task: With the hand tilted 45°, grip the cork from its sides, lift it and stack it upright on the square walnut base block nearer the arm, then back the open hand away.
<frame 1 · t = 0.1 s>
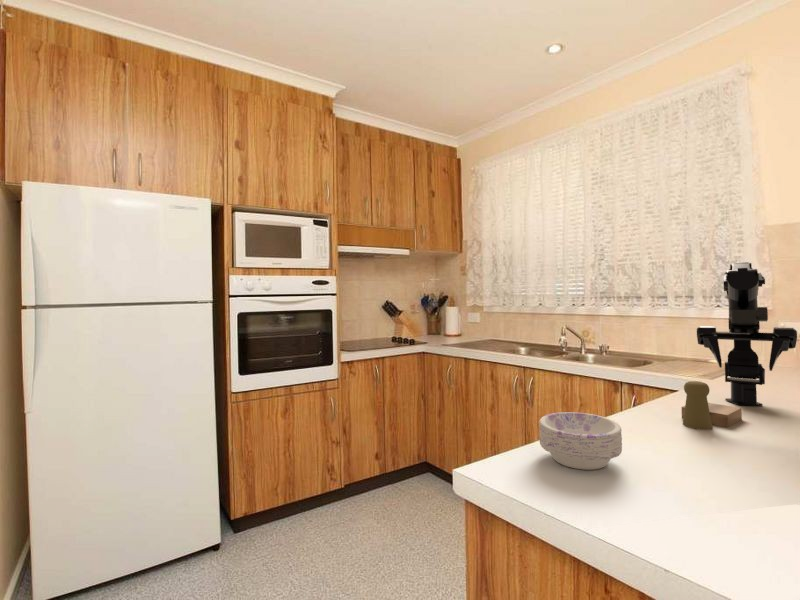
hand: (744, 368, 99), 15 cm above the worktop, tool tilted 35°, fingers open, 9 cm apart
base block: (711, 418, 109), on the worktop
paper bowls: (579, 462, 84), on the worktop
cork: (697, 426, 104), on the worktop
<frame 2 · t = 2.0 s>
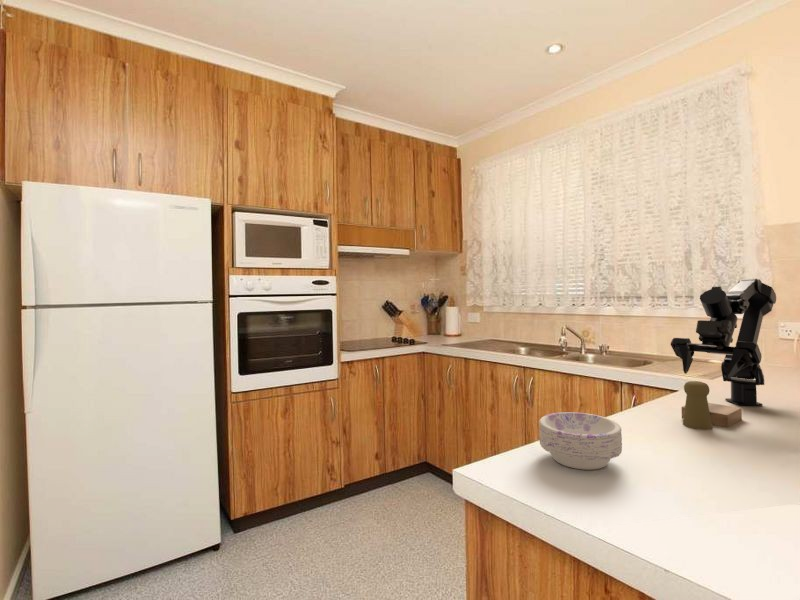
hand: (705, 375, 107), 12 cm above the worktop, tool tilted 45°, fingers open, 9 cm apart
nothing on the worktop moved.
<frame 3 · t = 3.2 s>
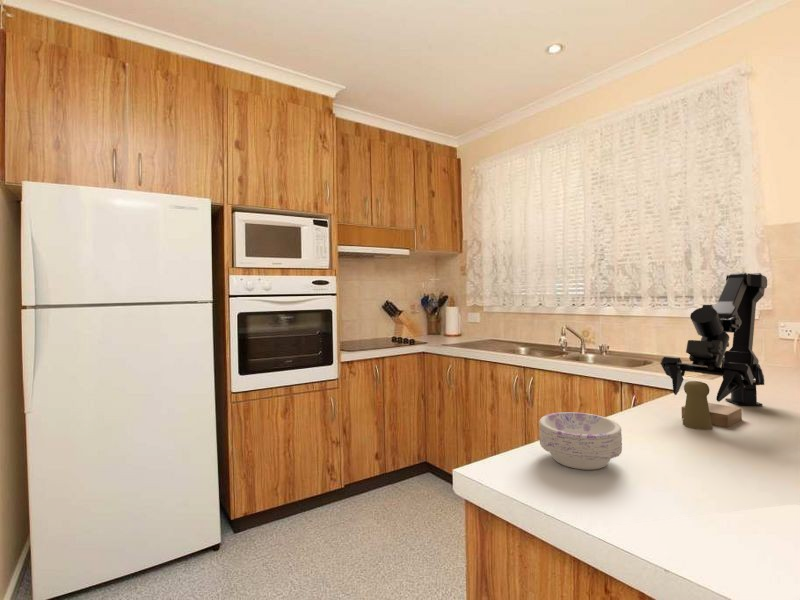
hand: (695, 397, 103), 7 cm above the worktop, tool tilted 45°, fingers open, 9 cm apart
nothing on the worktop moved.
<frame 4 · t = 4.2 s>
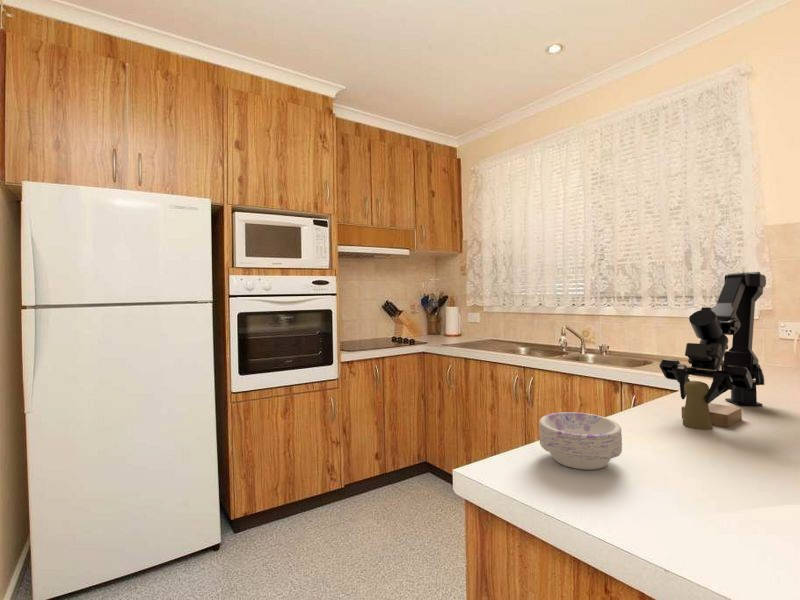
hand: (694, 400, 103), 7 cm above the worktop, tool tilted 45°, fingers closed on cork, 5 cm apart
cork: (697, 426, 104), on the worktop, touching gripper
everything else where it was.
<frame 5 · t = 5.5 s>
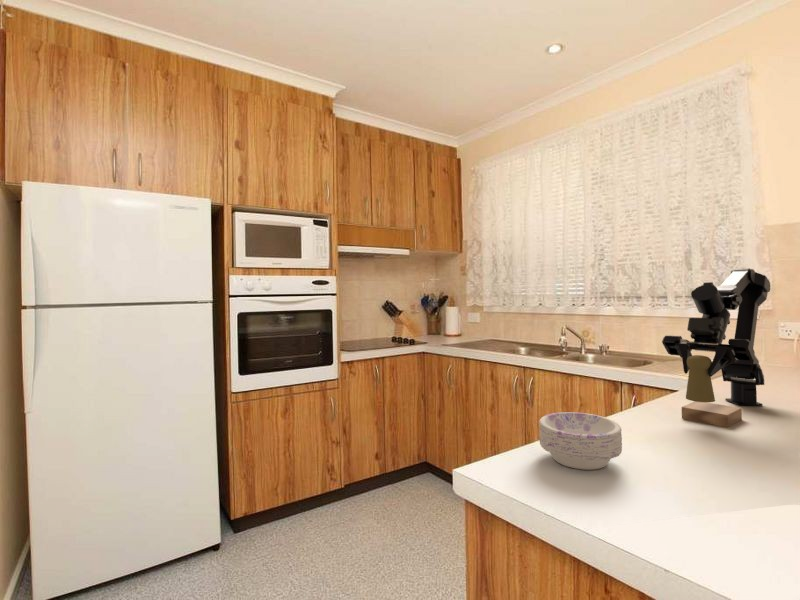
hand: (697, 373, 104), 13 cm above the worktop, tool tilted 45°, fingers closed on cork, 5 cm apart
cork: (700, 400, 105), point 6 cm above the worktop, touching gripper
everything else where it was.
when the fingers open (11 cm above the worktop, at t = 6.9 s): cork drops 1 cm, resting on base block.
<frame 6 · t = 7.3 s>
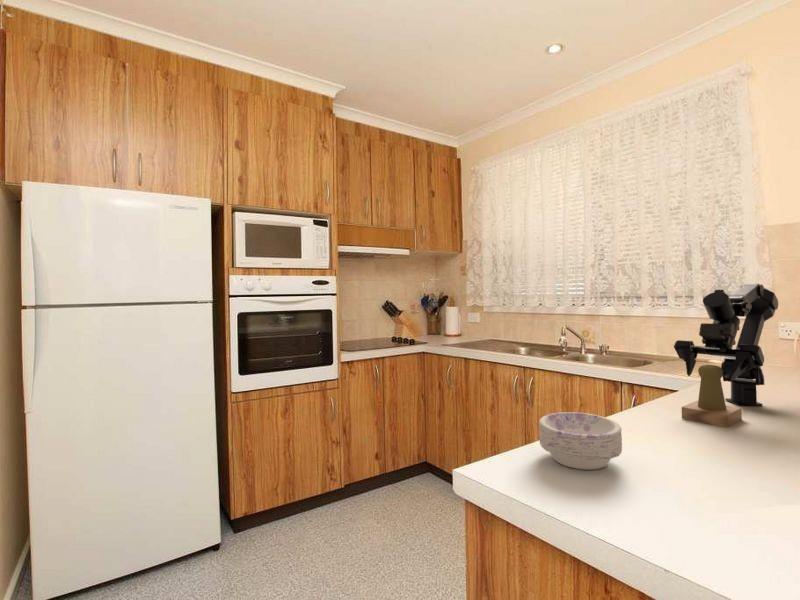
hand: (708, 377, 108), 11 cm above the worktop, tool tilted 45°, fingers open, 9 cm apart
cork: (711, 407, 109), point 3 cm above the worktop, touching base block
everything else where it was.
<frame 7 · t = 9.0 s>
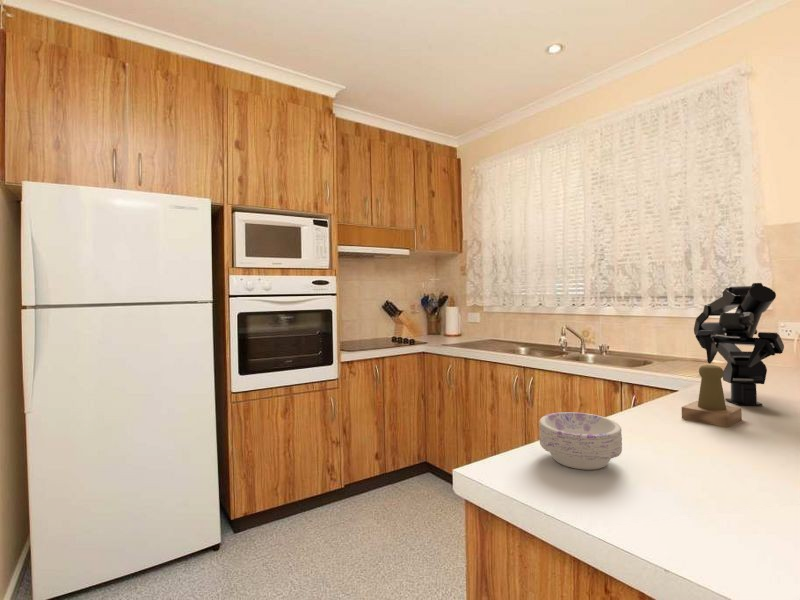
hand: (728, 364, 113), 13 cm above the worktop, tool tilted 45°, fingers open, 9 cm apart
nothing on the worktop moved.
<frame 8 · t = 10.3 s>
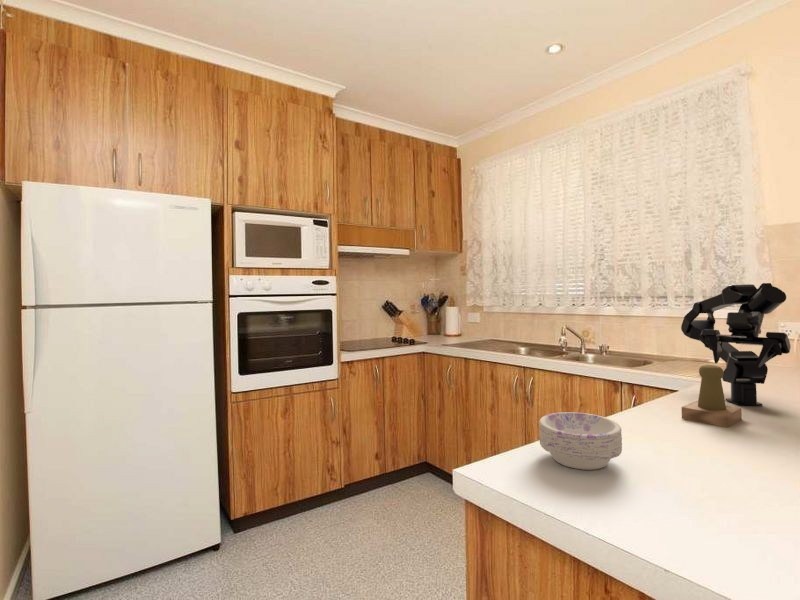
hand: (736, 364, 112), 14 cm above the worktop, tool tilted 45°, fingers open, 9 cm apart
nothing on the worktop moved.
at the end: cork 0.2 cm from the base block (horizontally); cork point 2.8 cm above the worktop; cork tilted 0° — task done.
